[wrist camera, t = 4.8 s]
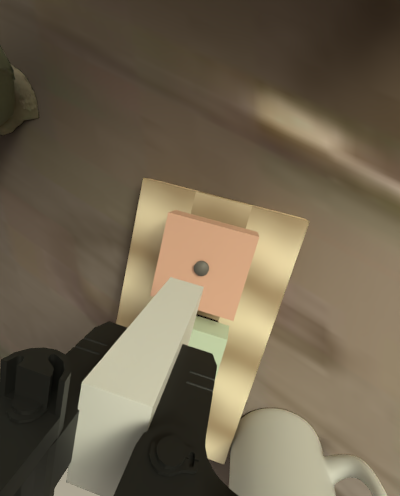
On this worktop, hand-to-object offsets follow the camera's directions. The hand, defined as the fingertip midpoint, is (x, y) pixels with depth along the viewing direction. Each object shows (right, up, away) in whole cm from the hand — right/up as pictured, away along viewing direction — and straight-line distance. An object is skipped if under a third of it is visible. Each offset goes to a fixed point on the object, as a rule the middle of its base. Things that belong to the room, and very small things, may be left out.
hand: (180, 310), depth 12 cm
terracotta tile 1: (+2, +2, +10) cm, 10 cm away
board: (0, -4, +14) cm, 14 cm away
